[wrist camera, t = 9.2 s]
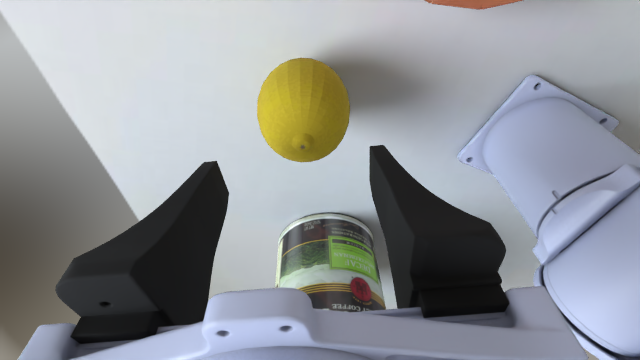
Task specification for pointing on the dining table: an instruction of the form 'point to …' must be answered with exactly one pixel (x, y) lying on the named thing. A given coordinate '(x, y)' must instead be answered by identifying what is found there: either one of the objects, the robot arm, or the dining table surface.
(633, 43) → the dining table surface
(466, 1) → the bowl
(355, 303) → the coffee can
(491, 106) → the dining table surface
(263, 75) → the dining table surface
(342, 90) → the lemon
